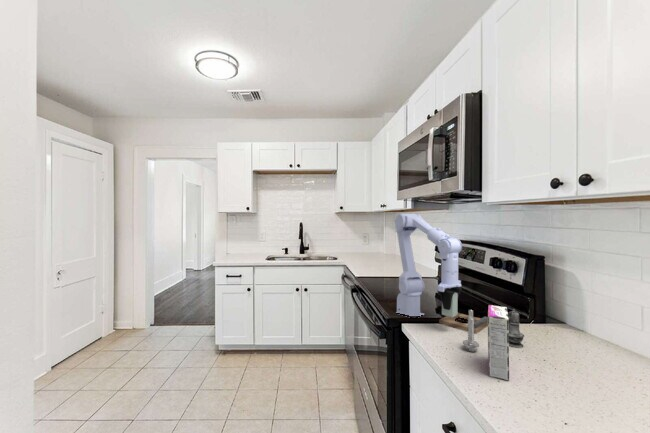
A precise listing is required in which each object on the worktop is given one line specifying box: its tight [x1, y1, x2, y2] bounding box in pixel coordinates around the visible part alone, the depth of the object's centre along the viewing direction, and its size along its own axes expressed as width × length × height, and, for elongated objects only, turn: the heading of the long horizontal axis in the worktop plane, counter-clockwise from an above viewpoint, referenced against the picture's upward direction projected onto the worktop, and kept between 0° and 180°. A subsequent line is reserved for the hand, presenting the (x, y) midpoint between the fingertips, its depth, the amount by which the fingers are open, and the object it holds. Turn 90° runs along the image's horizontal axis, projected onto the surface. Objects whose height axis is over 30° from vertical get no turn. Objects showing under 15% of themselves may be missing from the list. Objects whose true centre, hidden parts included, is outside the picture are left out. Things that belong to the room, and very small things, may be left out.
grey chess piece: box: [508, 308, 525, 349], centre depth 99 cm, size 6×6×12 cm
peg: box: [441, 293, 459, 317], centre depth 109 cm, size 4×4×8 cm
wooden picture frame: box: [438, 312, 488, 335], centre depth 117 cm, size 14×14×2 cm
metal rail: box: [474, 316, 488, 329], centre depth 113 cm, size 1×12×2 cm, turn 132°
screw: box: [462, 309, 480, 353], centre depth 94 cm, size 13×5×5 cm
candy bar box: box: [487, 304, 510, 381], centre depth 82 cm, size 11×5×16 cm, turn 151°
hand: (449, 307), depth 109 cm, fingers closed on peg, 4 cm apart
